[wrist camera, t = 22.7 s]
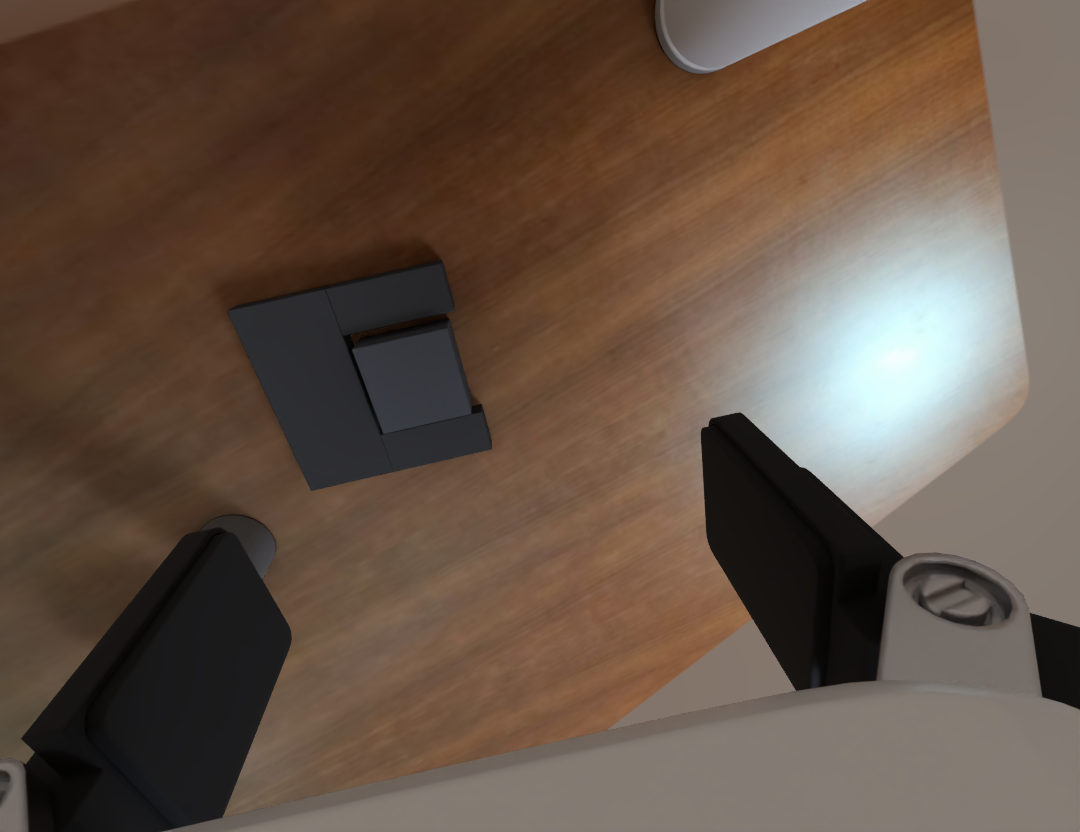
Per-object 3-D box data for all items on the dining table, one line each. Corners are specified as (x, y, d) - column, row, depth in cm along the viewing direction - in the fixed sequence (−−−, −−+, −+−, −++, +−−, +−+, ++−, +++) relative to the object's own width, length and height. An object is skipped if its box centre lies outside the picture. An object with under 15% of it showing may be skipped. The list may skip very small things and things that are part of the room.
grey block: (359, 338, 36) (351, 349, 34) (449, 318, 36) (447, 327, 34) (389, 419, 39) (383, 434, 36) (472, 400, 39) (471, 414, 36)
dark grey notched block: (236, 305, 34) (226, 311, 33) (442, 259, 34) (440, 262, 33) (316, 480, 40) (310, 491, 39) (491, 440, 40) (492, 449, 39)
